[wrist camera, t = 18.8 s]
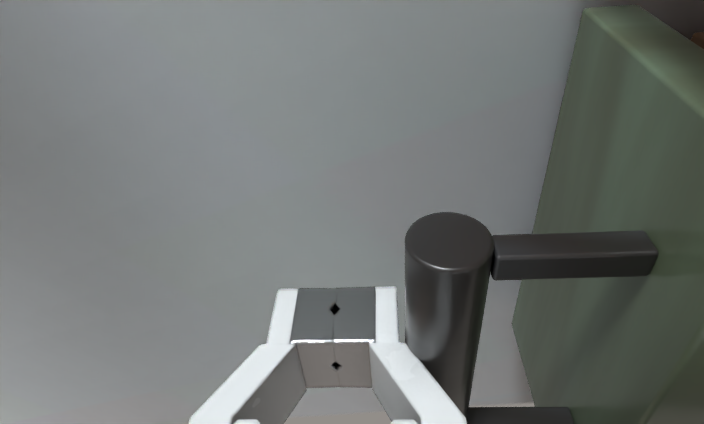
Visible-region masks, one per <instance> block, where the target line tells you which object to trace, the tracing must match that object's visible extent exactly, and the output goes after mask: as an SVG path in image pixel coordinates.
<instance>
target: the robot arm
mask: <svg viewBox="0 0 704 424" xmlns="http://www.w3.org/2000/svg"><path fill="white" fill-rule="evenodd" d="M324 387H362V388H372V390H373V391H374V393H375V395H376V396H377V398H378V400H379V401H380V403H381V405H382V406H383V408H384V410H385V412H386V413H387V415H388V417H389V418H390V420H391V423H390V424H467V421H466V418H465V416H464V415H463V414H462V413H461V411H460V410H459V409H458V408H457V406H456V405H455V404H454V403H453V401H452V400H451V399H450V398H449V396H448V395H447V394H446V392H445V391H444V390H443V389H442V387H441V386H440V385H439V384H438V382H437V381H436V380H435V379H434V377H433V376H432V375H431V374H430V372H429V371H428V370H427V369H426V367H425V366H424V365H423V364H422V362H421V361H420V360H419V359H418V358H417V357H416V356H415V355H414V354H413V353H412V352H411V351H410V349H409V348H408V346H407V344H406V343H401V342H400V339H399V320H398V301H397V288H396V286H392V287H376V290H375V287H347V288H279V290H278V292H277V294H276V299H275V304H274V309H273V313H272V318H271V323H270V328H269V333H268V337H267V342H266V344H260V345H259V346H258V347H257V348H256V349H255V350H254V351H253V352H252V353H251V354H250V356H249V357H248V358H247V359H246V360H245V361H244V362H243V363H242V364H241V365H240V366H239V367H238V368H237V369H236V370H235V371H234V372H233V373H232V374H231V375H230V377H229V378H228V379H227V380H226V381H225V382H224V383H223V384H222V385H221V386H220V387H219V388H218V389H217V390H216V391H215V392H214V393H213V394H212V395H211V396H210V397H209V399H208V400H207V401H206V402H205V403H204V404H203V405H202V406H201V407H200V408H199V409H198V410H197V411H196V412H195V413H194V414H193V415H192V416H191V417H190V420H189V423H188V424H284V422H285V421H286V420H287V418H288V417H289V415H290V414H291V412H292V411H293V409H294V408H295V406H296V405H297V404H298V402H299V401H300V399H301V398H302V396H303V395H304V393H305V392H306V388H324Z"/></svg>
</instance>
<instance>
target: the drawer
mask: <svg viewBox="0 0 704 424" xmlns="http://www.w3.org/2000/svg"><path fill="white" fill-rule="evenodd" d="M490 272H491V275H492V278H493V279H494V280H522V281H521V285H520V289H519V294H518V298H517V303H516V307H515V311H514V316H513V320H512V327H513V330H514V334H515V338H516V341H517V345H518V348H519V352H520V355H521V359H522V362H523V366H524V369H525V373H526V377H527V380H528V384H529V387H530V391H531V394H532V398H533V401H534V405H535V407H468V406H469V400H470V394H471V388H472V382H473V376H474V369H475V363H476V357H477V351H478V345H479V339H480V332H481V326H482V320H483V314H484V308H485V302H486V295H487V289H488V283H489V277H490ZM405 343H406V344H407V346H408V348H409V349H410V351H411V352H412V353H413V354H414V355H415V356H416V357H417V358H418V359H419V360H420V361H421V362H422V364H423V365H424V366H425V367H426V369H427V370H428V371H429V372H430V374H431V375H432V376H433V377H434V379H435V380H436V381H437V382H438V384H439V385H440V386H441V387H442V389H443V390H444V391H445V392H446V394H447V395H448V396H449V398H450V399H451V400H452V401H453V403H454V404H455V405H456V406H457V408H458V409H459V410H460V411H461V413H462V414H463V415H464V416H465V418H466V421H467V424H704V32H697V33H694V34H693V35H692V38H691V41H690V40H689V39H687V38H686V37H685V36H683V35H682V34H680V33H679V32H677V31H676V30H674V29H673V28H671V27H670V26H668V25H667V24H665V23H664V22H662V21H661V20H659V19H658V18H656V17H655V16H653V15H652V14H650V13H649V12H647V11H646V10H644V9H643V8H642V7H640V6H638V5H623V6H608V7H593V8H586V9H584V10H583V12H582V17H581V21H580V25H579V30H578V34H577V39H576V43H575V47H574V52H573V56H572V61H571V65H570V69H569V74H568V78H567V83H566V87H565V91H564V96H563V100H562V105H561V109H560V113H559V118H558V122H557V127H556V131H555V135H554V140H553V144H552V149H551V153H550V157H549V162H548V166H547V171H546V175H545V179H544V184H543V188H542V193H541V197H540V201H539V206H538V210H537V215H536V219H535V223H534V228H533V232H532V234H518V235H493V236H492V235H491V233H490V232H489V230H488V229H487V228H486V227H485V226H484V225H483V224H482V223H481V222H479V221H478V220H476V219H474V218H472V217H470V216H467V215H463V214H459V213H453V212H440V213H433V214H430V215H427V216H424V217H422V218H420V219H418V220H417V221H416V222H414V223H413V224H412V225H411V226H410V228H409V230H408V231H407V233H406V236H405Z"/></svg>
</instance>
